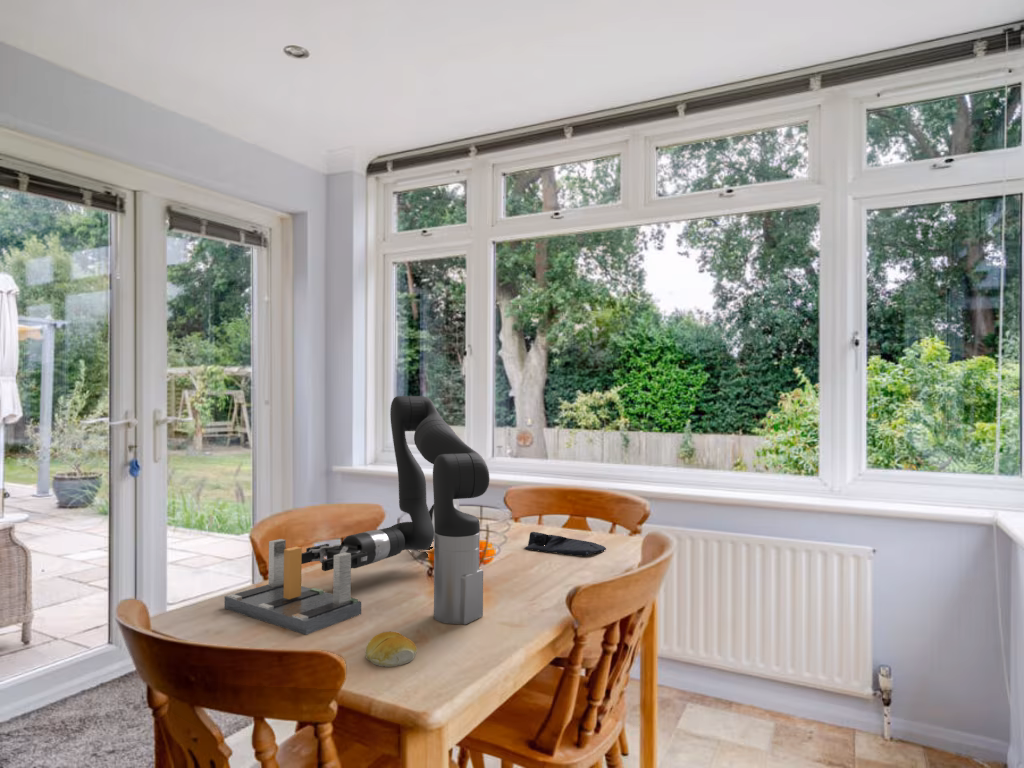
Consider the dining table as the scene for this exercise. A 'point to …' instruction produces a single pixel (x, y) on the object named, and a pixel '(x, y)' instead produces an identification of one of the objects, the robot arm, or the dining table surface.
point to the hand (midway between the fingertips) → (309, 563)
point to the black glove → (562, 544)
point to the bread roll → (390, 649)
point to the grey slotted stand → (300, 611)
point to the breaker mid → (292, 572)
